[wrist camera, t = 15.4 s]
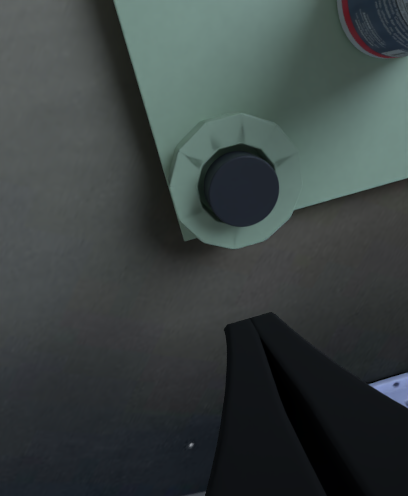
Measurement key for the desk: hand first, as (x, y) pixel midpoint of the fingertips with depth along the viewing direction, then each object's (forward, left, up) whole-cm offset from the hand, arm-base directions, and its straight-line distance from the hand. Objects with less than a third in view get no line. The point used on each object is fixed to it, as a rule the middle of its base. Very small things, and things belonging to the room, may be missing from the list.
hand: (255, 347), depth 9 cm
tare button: (-2, -2, -8) cm, 8 cm away
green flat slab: (-7, -6, -10) cm, 14 cm away
